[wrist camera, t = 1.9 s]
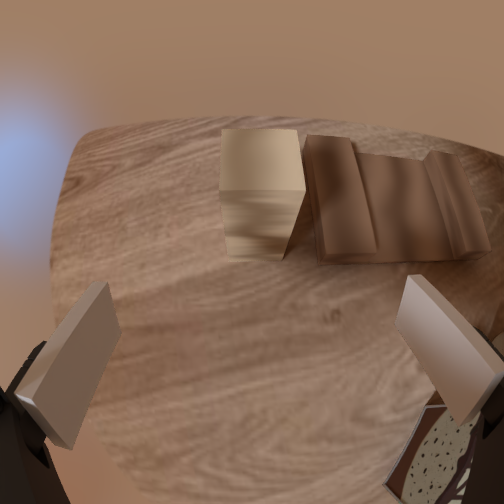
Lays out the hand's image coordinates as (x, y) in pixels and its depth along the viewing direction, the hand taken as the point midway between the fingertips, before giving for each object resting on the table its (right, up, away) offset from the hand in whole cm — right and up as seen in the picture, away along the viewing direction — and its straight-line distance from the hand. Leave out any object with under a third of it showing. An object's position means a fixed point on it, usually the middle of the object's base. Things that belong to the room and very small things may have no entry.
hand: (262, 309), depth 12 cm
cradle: (+17, +8, +19) cm, 26 cm away
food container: (+17, -18, +9) cm, 27 cm away
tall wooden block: (0, +4, +17) cm, 17 cm away
